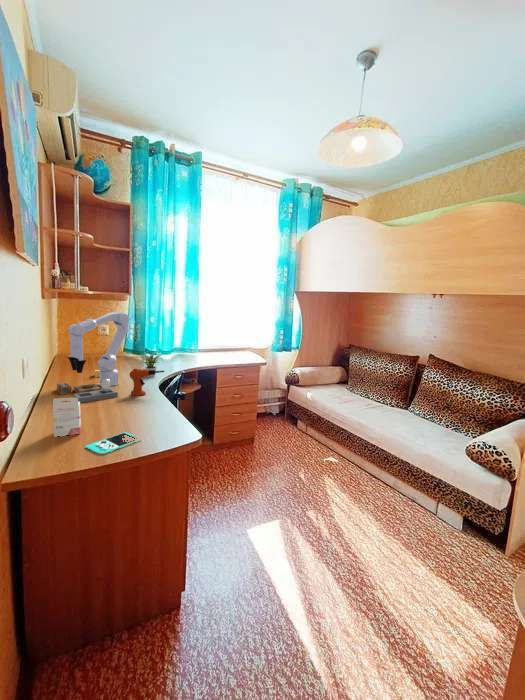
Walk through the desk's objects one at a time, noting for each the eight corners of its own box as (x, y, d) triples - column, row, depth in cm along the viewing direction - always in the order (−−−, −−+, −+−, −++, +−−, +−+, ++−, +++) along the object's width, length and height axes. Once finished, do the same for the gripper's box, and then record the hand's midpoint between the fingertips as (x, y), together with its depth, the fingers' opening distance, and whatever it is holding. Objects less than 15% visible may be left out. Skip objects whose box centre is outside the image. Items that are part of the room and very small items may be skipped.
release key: (63, 386, 174) (63, 382, 174) (68, 390, 168) (68, 385, 168) (58, 387, 172) (58, 382, 172) (62, 390, 167) (62, 386, 166)
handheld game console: (84, 448, 111) (84, 445, 111) (125, 434, 125) (125, 431, 124) (100, 457, 106) (100, 453, 106) (141, 441, 119) (141, 438, 119)
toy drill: (166, 393, 173) (163, 366, 170) (130, 397, 170) (126, 370, 168) (167, 391, 178) (164, 365, 175) (132, 394, 175) (128, 368, 172)
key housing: (65, 389, 174) (65, 382, 174) (71, 393, 168) (71, 386, 167) (56, 390, 171) (56, 383, 171) (62, 394, 165) (61, 388, 164)
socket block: (94, 388, 179) (94, 383, 179) (100, 392, 172) (100, 388, 172) (73, 390, 172) (73, 386, 172) (80, 395, 165) (80, 390, 165)
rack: (111, 392, 173) (111, 388, 172) (117, 396, 167) (117, 392, 167) (73, 398, 160) (73, 394, 159) (79, 403, 154) (78, 398, 154)
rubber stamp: (111, 374, 211) (111, 357, 209) (111, 376, 206) (111, 358, 204) (94, 375, 206) (94, 357, 205) (94, 377, 201) (94, 359, 200)
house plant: (165, 378, 211) (166, 354, 208) (144, 380, 203) (144, 354, 200) (159, 373, 222) (159, 350, 220) (138, 375, 215) (138, 351, 212)
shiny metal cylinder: (108, 394, 170) (108, 378, 168) (111, 396, 167) (111, 379, 165) (100, 395, 167) (100, 379, 165) (103, 397, 164) (102, 380, 163)
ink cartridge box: (81, 429, 125) (80, 393, 123) (79, 434, 121) (79, 397, 118) (55, 432, 122) (54, 395, 119) (53, 437, 117) (51, 399, 115)
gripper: (64, 345, 172) (64, 369, 175) (72, 349, 163) (73, 375, 165) (78, 344, 178) (79, 368, 180) (87, 348, 168) (87, 373, 170)
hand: (77, 371), depth 172 cm, fingers open, 7 cm apart
